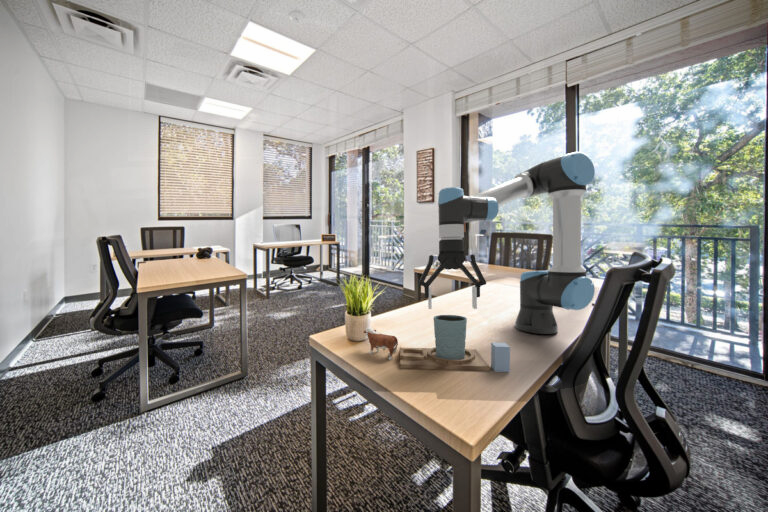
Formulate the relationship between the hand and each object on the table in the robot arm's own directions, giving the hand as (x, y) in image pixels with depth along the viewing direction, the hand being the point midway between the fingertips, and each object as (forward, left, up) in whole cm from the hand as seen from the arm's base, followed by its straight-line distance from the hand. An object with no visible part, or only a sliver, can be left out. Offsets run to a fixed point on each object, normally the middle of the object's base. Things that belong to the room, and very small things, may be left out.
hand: (452, 308), depth 98 cm
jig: (+3, 0, -16) cm, 16 cm away
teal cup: (+1, 0, -15) cm, 15 cm away
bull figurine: (+22, -3, -16) cm, 28 cm away
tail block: (-13, +7, -16) cm, 21 cm away
